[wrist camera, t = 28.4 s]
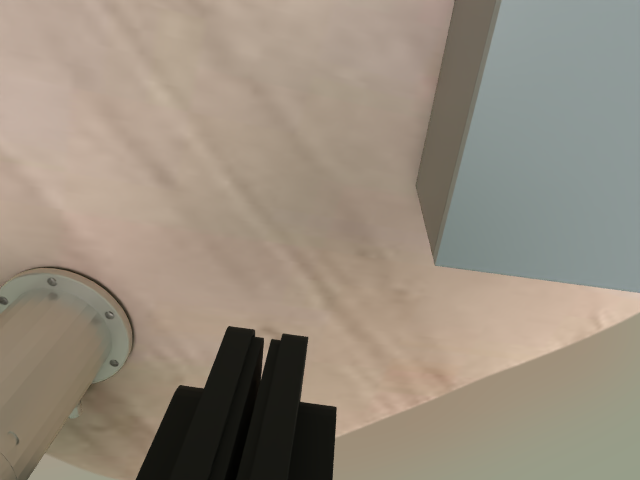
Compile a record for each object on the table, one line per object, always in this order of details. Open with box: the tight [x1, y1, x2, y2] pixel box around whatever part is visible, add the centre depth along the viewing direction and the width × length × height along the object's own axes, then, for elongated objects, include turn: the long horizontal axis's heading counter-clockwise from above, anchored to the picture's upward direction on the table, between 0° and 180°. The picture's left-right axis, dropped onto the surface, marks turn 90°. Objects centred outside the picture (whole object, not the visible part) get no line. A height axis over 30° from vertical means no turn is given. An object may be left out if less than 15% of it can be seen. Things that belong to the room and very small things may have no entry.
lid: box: [433, 0, 640, 293], centre depth 25 cm, size 16×13×1 cm
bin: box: [416, 0, 496, 255], centre depth 31 cm, size 16×13×11 cm
